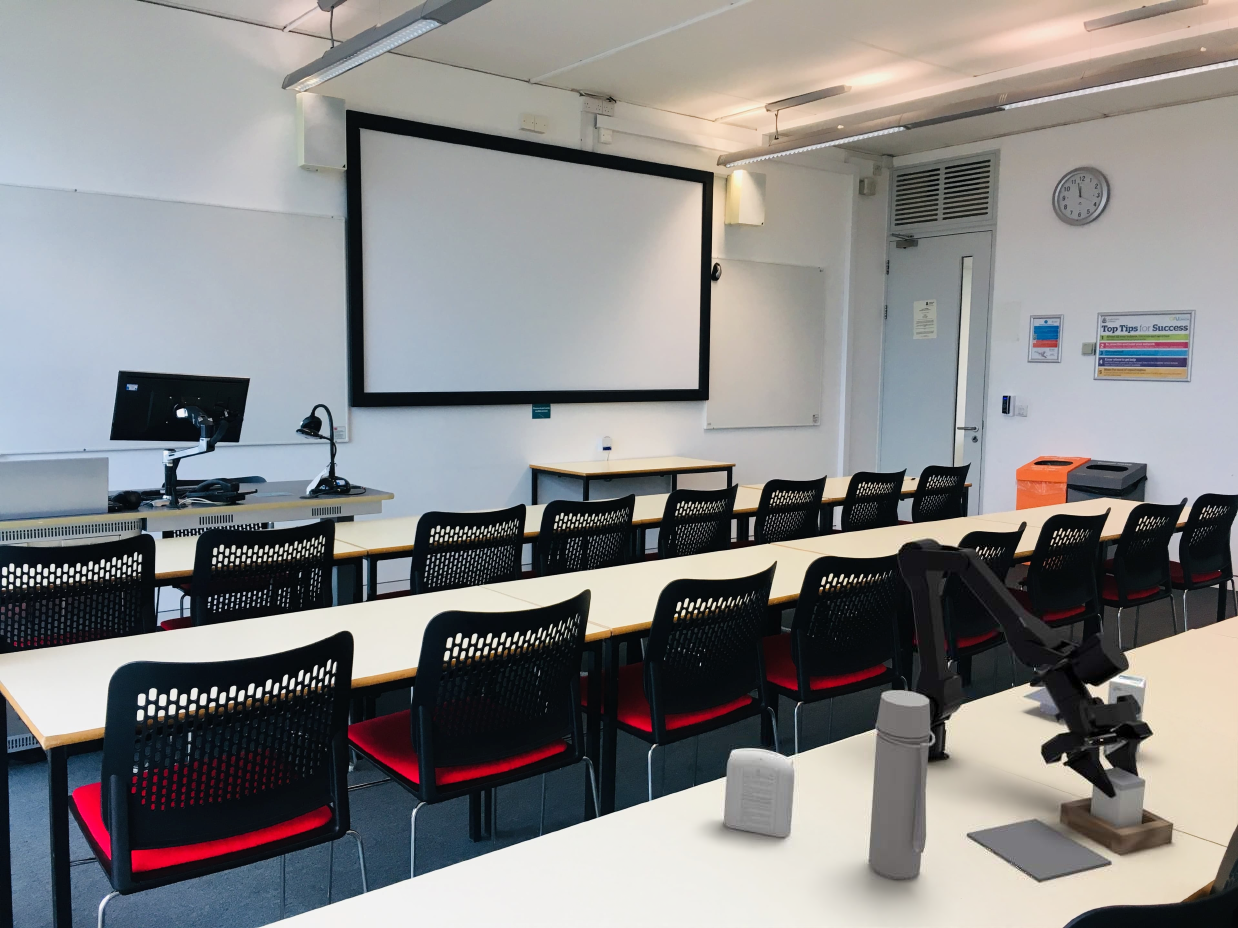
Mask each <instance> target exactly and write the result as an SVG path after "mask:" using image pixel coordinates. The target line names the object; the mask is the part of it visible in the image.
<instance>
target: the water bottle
mask: <svg viewBox="0 0 1238 928" xmlns="http://www.w3.org/2000/svg"><path fill="white" fill-rule="evenodd" d="M876 719H877V720H876V723H875V731H876V732H877V733H876V737H875V751H874V753H875V754H874V767H873V768H874V770H873V772H874V773H873V785H872V786H873V787H872V788H873V789H872V801H871V816H870V817H871V820H870V821H871V822H870V835H869V851H868V863H869V864H870V866H871V867H872V869H873V870H874V872H875V873H878V874H879V875H881V876H882V877H884V878H885V877H886V878H889V879H894V880H908V879H911V878H913V877H915V876H917V875H918V874H919V873H920V870H921V864H922V862H921V861H922V853H924V852H925V846H926V840H927V807H926V806H927V799H926V798H927V794H926V793H927V792H926V791H927V789H926V787H927V778H928V777H927V776H928V764H929V762H928V749H929V746H932V745H933V743H934V742H935V735H934V734H933V733H932V732H931V731H930V706H929V699H928V698H926V697H925V696H924V695H921V694H918V693H915V691H908V690H903V689H902V690H901V689H900V690H894V689H892V690H887V691H883V692H882V693H881V696H880V702H879V708H878V713H877V718H876ZM930 734H931V736H932V742H931V743H929V736H930Z"/></svg>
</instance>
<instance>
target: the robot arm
mask: <svg viewBox="0 0 1238 928" xmlns="http://www.w3.org/2000/svg"><path fill="white" fill-rule="evenodd" d="M897 561H898V565H899V570H900V572H901V575H902V578H903V580H904V582H905V583H906V584H907V586H908V587H909V589H910V592H911V599H912V606H913V615H914V624H915V633H916V634H915V635H916V641H917V650H918V660H919V672H918V675H917V680H916V683H915V687H914V692H915V693H918V694H921V695H924V696H925V697H926V698H928V699H929V706H930V731H931V732H932V733H933V734H934V735H935V742H934V743H933V745H932V746H929V749H928V763H929V762H935V761H940V760H947V759H949V758H950V754H948V753H946V752H945V751H946V739H947V729H946V724H947V722H946V721H949V720H950V719H951V718H952V715H953V714H954V713H956V712H957V711H958V710H959V709H960V708H961V706H962V703H963V701H962V700H964V699H965V695H964V692H963V687H962V685H963V684H962V683H963V679H962V676H961V675H955V676H954V674H953V673H952V671H951V669H950V668H949V664H948V663H949V662H948V658H947V657H948V656H947V648H946V647H947V646H946V639H945V630H944V622H943V614H942V613H943V612H942V605H941V596H940V585H941V582H942V579H943V575H944V574H945V573H944V572H952V573H956V574H957V575H958V576H960V578H961V580H962V581H963V582H964V583H965V584H966V585H967V586H968V587H969V589H970V591H972V592H973V594H974V595H975V596H976V597H977V598H978V600H979V601H980V602H981V603H982V604H983V605H984V607H985V608H986V609H987V611H988V612H989V613H990V614H991V615H992V617H993V618H994V619H995V621H996V622H997V623H998V624H999V625H1000V627H1001V628H1002V630H1003V632H1004V636H1005V640H1006V644H1007V645H1008V646H1009V648H1010V651H1011V652H1012V653H1013V655H1014V656H1015V658H1016V660H1017V661H1018V663H1020V664H1021V665H1022V666H1024V667H1026V668H1032V669H1036V668H1037V669H1038V668H1041V667H1044V666H1047V665H1050V667H1048V668H1046V669H1045V670H1033V673H1032V677H1031V678H1030V682H1029V687H1031V688H1044V687H1045V688H1046V690H1047V691H1048V693H1049V695H1050V697H1051V699H1052V701H1053V702H1054V704H1055V706H1056V708H1057V710H1058V712H1059V713H1057V714H1056V715H1054V716H1053V717H1054V718H1055V720H1056V721H1057V722H1062V721H1063V722H1064V724H1065V726H1066V728H1067V730H1068V731H1067V732H1061V733H1057V734H1056V735H1054V736H1053V737H1051V738H1050V739H1049V740H1047V741H1045V742H1044V743H1043V744H1041V745H1040V746H1041V747H1040V754H1041V757H1042V758H1043V760H1044V762H1045V764H1046V765H1051V764H1055V763H1060V762H1061V761H1062V757H1063V756H1064V754H1066V755H1065V757H1066V760H1065V761H1064V762H1062V765H1063V766H1064V767H1069V768H1070V769H1072V770H1073V771H1074V772H1075V773H1077V774H1078V775H1080V776H1081V777H1083V778H1084V779H1086V780H1087V781H1088V782H1089V783H1091V784H1092V786H1093V785H1094V786H1096V787H1097V788H1098V789H1099V790H1101V791H1102V792H1103V793H1104V794H1106V795H1107V796H1108V797H1109V798H1113V797H1115V796H1116V793H1115V791H1114V788H1113V786H1112V784H1111V782H1110V780H1109V778H1108V776H1107V774H1106V772H1105V767H1104V766H1103V764H1102V762H1101V758H1100V757H1101V755H1100V753H1101V751H1100V750H1101V747H1102V748H1103V747H1104V746H1106V748H1107V749H1108V751H1109V754H1107V755H1106V754H1104V758H1105V759H1106V761H1107V762H1108V763H1109V764H1110V765H1111V766H1112V768H1116V767H1118V768H1120V769H1122V770H1125V771H1127V772H1129V773H1131V774H1133V775H1135V776H1138V777H1139V771H1138V766H1137V760H1136V759H1135V752H1136V749H1137V745H1139V744H1141V743H1142V742H1143V741H1145V740H1147V739H1149V738H1150V737H1152V736H1153V735H1154V733H1153V731H1152V729H1151V728H1150V726H1149V724H1148V723H1147V722H1146V721H1143V720H1142V721H1141V720H1137V717H1136V715H1139V714H1140V712H1141V707H1140V706H1139V703H1138V702H1137V700H1136V699H1135V698H1134V696H1133V695H1132V694H1130V695H1123V696H1118V697H1117V701H1116V703H1111V704H1107V703H1105V702H1104V700H1103V699H1102V698H1101V697H1100V696H1094V697H1093V695H1092V694H1091V692H1090V690H1089V688H1088V686H1087V685H1091V686H1092V687H1095V688H1097V687H1100V686H1101V685H1103V684H1105V683H1107V682H1108V681H1110V679H1112V678H1114V677H1116V676H1117V675H1119V674H1123V673H1124V672H1126V671H1127V670H1129V668H1130V664H1129V660H1128V657H1127V656H1126V654H1125V652H1124V651H1123V650H1122V648H1121V647H1119V646H1117V645H1116V644H1115V643H1114V642H1113V641H1111V640H1110V639H1108V638H1106V637H1105V636H1104V635H1103V634H1102V632H1098V633H1096V634H1094V635H1092V636H1091V637H1089V638H1088V639H1087V640H1086V641H1085V642H1083V643H1082V644H1080V645H1078V644H1076V643H1072V642H1071V641H1069V640H1067V639H1066V640H1065V639H1064V638H1061V637H1060V636H1059V635H1058V633H1057V632H1055V630H1053V629H1052V628H1051V627H1050V626H1049V625H1048V624H1046V623H1045V622H1044V621H1043V620H1041V619H1040V618H1038V617H1036V616H1034V615H1032V614H1031V613H1030V612H1028V611H1027V610H1026V609H1025V608H1024V607H1023V606H1022V605H1021V604H1020V603H1019V601H1018V600H1017V599H1016V598H1015V596H1013V594H1012V593H1011V592H1010V590H1008V589H1007V587H1006V586H1005V584H1003V582H1001V580H1000V579H999V578H998V576H996V574H995V573H994V572H993V570H991V568H990V567H989V566H988V565H987V564H986V563H985V561H984V560H983V559H982V557H981V555H980V553H979V552H978V551H977V550H975V549H973V548H963V547H959V546H954V545H948V544H941V543H940V542H938V541H937V540H935V539H934V538H923V539H918V540H913V541H908V542H905V543H904V544H902V546H901V547H900V548H899V549H898V552H897ZM1064 661H1065V662H1066V661H1068V662H1066V663H1064V664H1062V665H1060V664H1061V663H1062V662H1064ZM1130 721H1131V722H1130ZM1120 724H1122V725H1120ZM1119 725H1120V726H1119ZM1118 726H1119V727H1118ZM1116 727H1117V728H1116ZM1114 728H1116V729H1114ZM1111 729H1114V730H1112V731H1111ZM931 742H932V736H931V734H930V736H929V743H931Z"/></svg>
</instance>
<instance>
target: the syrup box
mask: <svg viewBox="0 0 1238 928" xmlns="http://www.w3.org/2000/svg"><path fill="white" fill-rule="evenodd" d="M1146 684H1147V679H1146V678H1144V677H1139V676H1133V675H1128V674H1123V673H1121V674H1119V675H1117V676H1116V677H1114V678H1112V679H1110V680H1109V683H1108V695H1107V703H1106V704H1111V703H1116V701H1117V697H1118V696H1123V695H1130V694H1132V695H1133V696H1134V698H1135V699H1136V700H1137V702H1138V703H1139V706H1140V707H1141V712H1140V714H1139V715H1136V717H1137V720H1141V721H1143V712H1144V702H1145V694H1146ZM1130 722H1131V721H1130ZM1120 725H1122V724H1120ZM1120 725H1119V726H1120ZM1119 726H1118V727H1119ZM1116 728H1117V727H1116ZM1116 728H1114V729H1116ZM1114 729H1111V731H1112V730H1114ZM1140 744H1141V743H1140ZM1140 744H1139V745H1137V749H1136V752H1135V759H1136V761H1137V760H1138V757H1139V754H1140V753H1139V752H1140V749H1141V747H1140V746H1141V745H1140ZM1102 748H1103V749H1102V754H1104V755H1107V754H1109V751H1108V749H1107V748H1106V746H1102Z"/></svg>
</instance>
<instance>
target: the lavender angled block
mask: <svg viewBox="0 0 1238 928" xmlns="http://www.w3.org/2000/svg"><path fill="white" fill-rule="evenodd" d="M1022 697H1023V698H1025V699H1028V700H1032V701H1034V702H1038V703H1039V704H1040V705H1039V706H1040V707H1039V708H1041V709H1042V710H1043V711H1042V710H1041V709H1040V710H1041V711H1042V712H1044V713H1045V712H1047V713H1046V714H1047V715H1050V714H1051V716H1053V715H1056V714H1057V713H1059V712H1058V710H1057V708H1056V706H1055V704H1054V702H1053V701H1052V699H1051V697H1050V695H1049V693H1048V691H1047V690H1046V688H1045V687H1041V688H1039V689H1038V690H1035V691H1033V692H1031V693H1028V694H1026V695H1024V696H1022Z"/></svg>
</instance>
